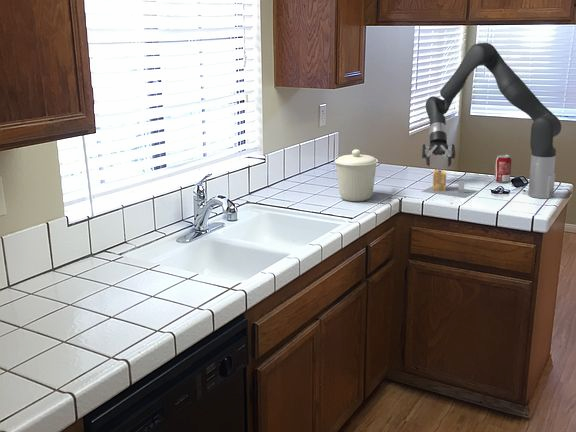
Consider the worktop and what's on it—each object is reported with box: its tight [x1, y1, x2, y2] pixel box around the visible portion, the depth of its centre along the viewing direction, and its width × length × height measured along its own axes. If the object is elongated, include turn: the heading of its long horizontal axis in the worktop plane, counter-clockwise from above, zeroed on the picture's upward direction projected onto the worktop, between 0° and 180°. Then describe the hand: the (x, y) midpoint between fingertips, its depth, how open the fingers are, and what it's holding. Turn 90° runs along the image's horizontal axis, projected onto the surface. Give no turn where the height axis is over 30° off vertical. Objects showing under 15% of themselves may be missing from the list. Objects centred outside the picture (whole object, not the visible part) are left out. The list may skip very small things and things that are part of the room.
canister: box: [333, 149, 379, 202], centre depth 267 cm, size 18×18×21 cm
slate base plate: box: [421, 185, 479, 199], centre depth 271 cm, size 20×14×2 cm
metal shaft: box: [457, 180, 465, 193], centre depth 268 cm, size 2×2×5 cm
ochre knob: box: [432, 169, 447, 191], centre depth 273 cm, size 5×5×8 cm
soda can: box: [494, 154, 512, 184], centre depth 289 cm, size 7×7×12 cm
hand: (438, 165), depth 277 cm, fingers open, 8 cm apart
